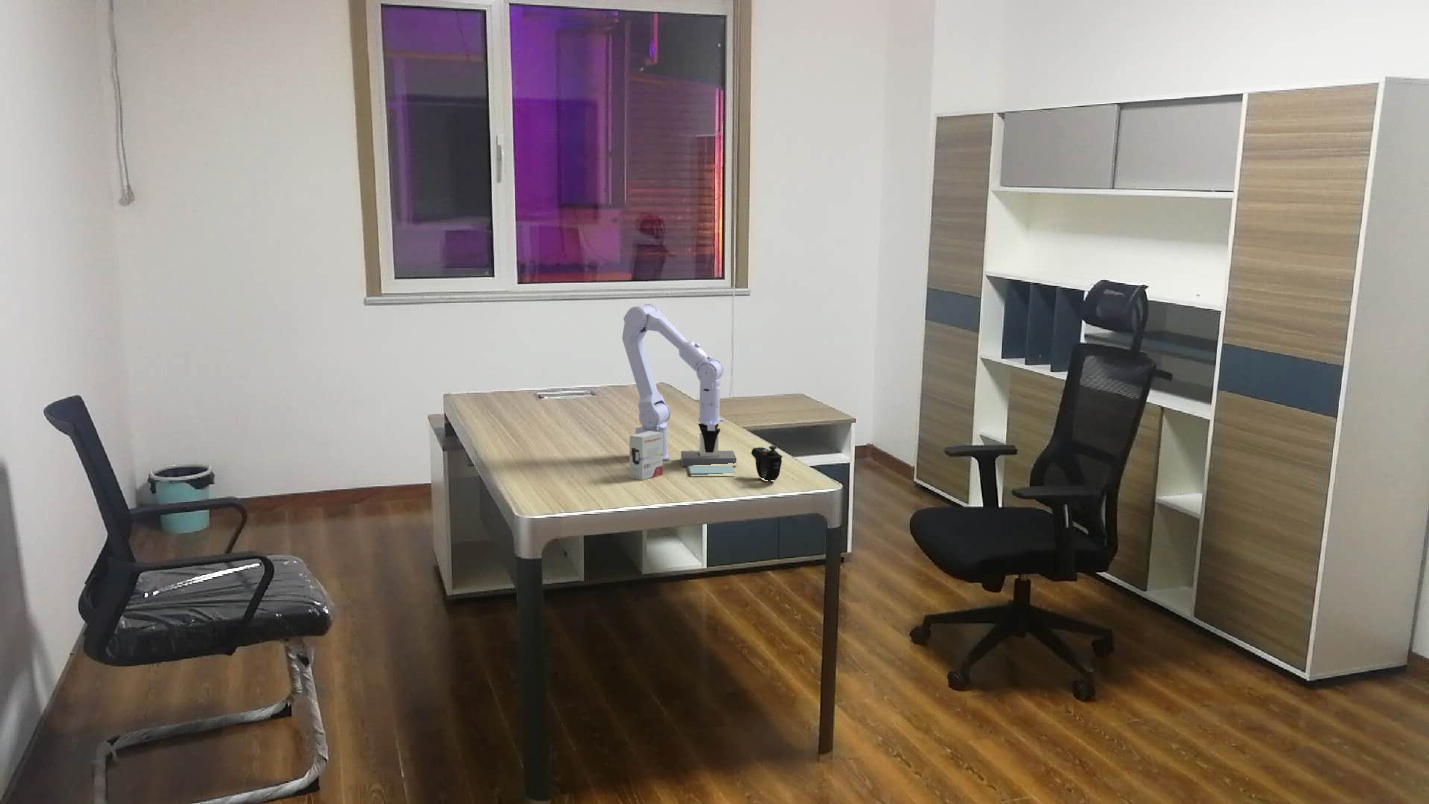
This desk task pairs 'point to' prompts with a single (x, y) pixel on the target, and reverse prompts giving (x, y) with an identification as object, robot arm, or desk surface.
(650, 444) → the ink box
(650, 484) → the desk surface
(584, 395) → the desk surface
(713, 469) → the mat
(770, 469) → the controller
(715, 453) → the plug
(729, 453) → the grey board with hole
